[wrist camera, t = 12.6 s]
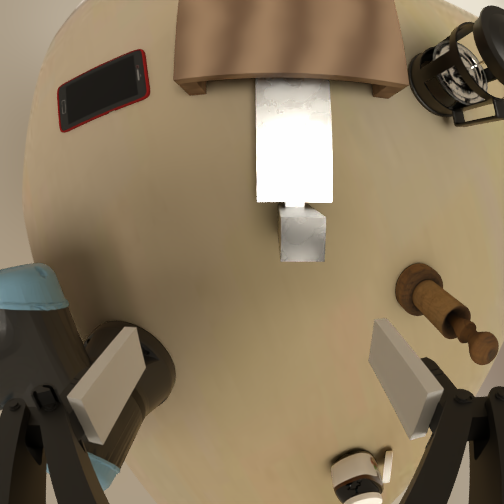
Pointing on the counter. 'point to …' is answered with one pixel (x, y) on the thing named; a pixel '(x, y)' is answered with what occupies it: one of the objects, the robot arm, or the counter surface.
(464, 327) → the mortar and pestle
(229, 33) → the low bench
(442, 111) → the french press
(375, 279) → the counter surface
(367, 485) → the spread jar
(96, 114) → the cell phone
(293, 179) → the scraper
